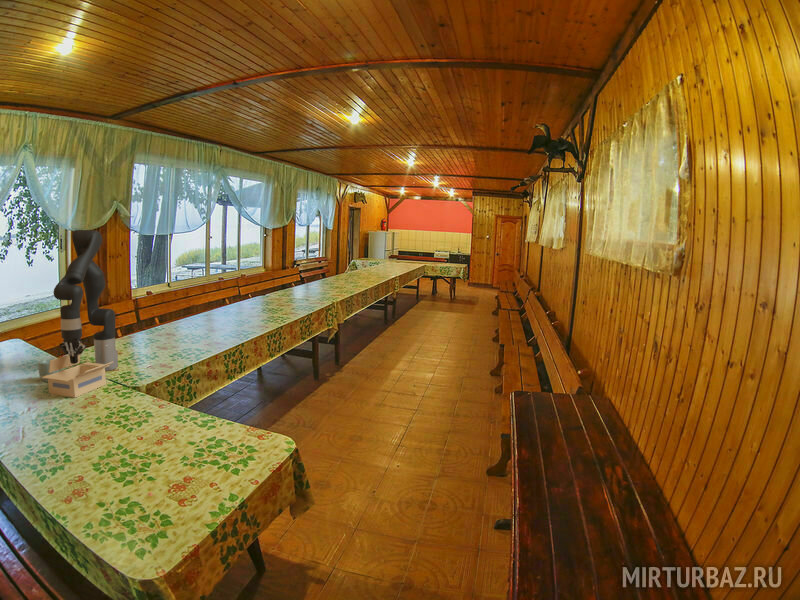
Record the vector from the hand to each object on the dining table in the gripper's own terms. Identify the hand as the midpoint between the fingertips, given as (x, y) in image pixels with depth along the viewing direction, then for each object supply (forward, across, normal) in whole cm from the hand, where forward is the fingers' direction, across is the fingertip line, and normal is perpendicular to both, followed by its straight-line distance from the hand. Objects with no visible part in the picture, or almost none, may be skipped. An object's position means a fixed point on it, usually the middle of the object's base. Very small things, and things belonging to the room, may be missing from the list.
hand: (74, 363), depth 194 cm
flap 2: (+1, -11, 0) cm, 11 cm away
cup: (+13, +21, -5) cm, 25 cm away
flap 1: (0, +5, 0) cm, 5 cm away
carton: (+13, -1, 0) cm, 13 cm away
